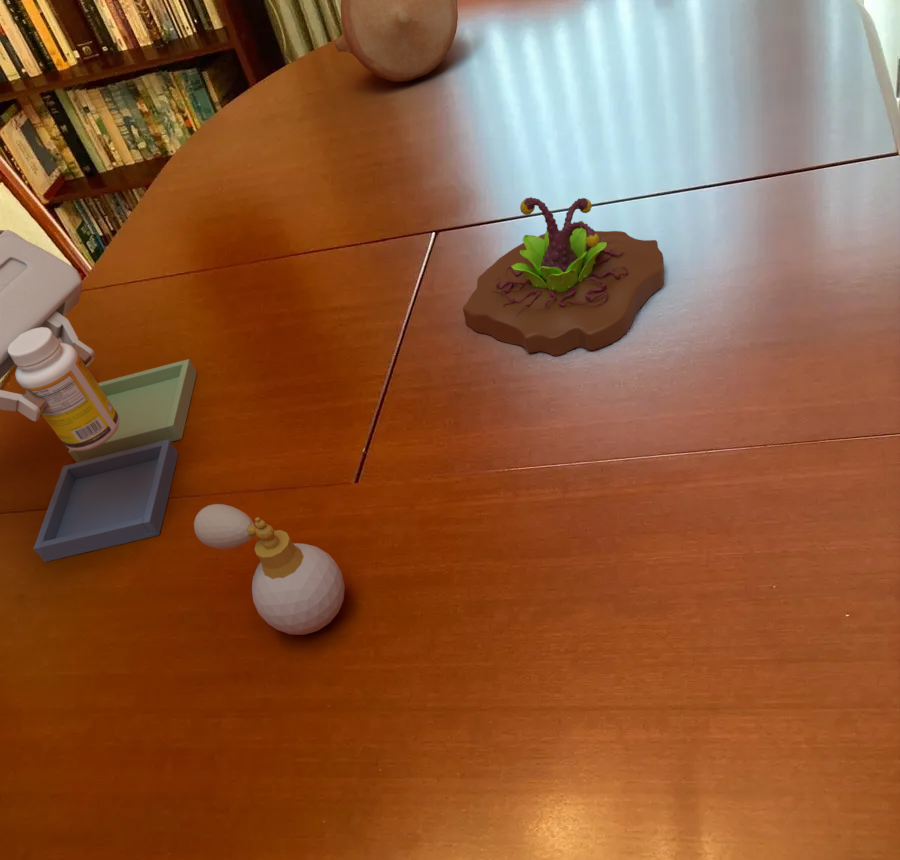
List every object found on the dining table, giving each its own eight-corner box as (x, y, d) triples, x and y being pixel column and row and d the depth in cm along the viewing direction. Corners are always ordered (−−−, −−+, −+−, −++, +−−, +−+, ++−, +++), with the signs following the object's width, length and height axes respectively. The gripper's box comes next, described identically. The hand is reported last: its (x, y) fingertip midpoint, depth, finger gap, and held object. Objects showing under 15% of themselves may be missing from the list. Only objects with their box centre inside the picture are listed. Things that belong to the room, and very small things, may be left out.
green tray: (78, 465, 99) (67, 451, 97) (101, 397, 107) (92, 384, 105) (181, 439, 97) (172, 425, 95) (197, 372, 105) (189, 358, 103)
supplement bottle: (89, 412, 84) (26, 320, 77) (133, 416, 82) (72, 321, 74) (54, 451, 81) (-16, 359, 74) (98, 456, 79) (31, 362, 71)
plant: (535, 239, 105) (517, 144, 97) (689, 256, 94) (684, 151, 86) (441, 338, 96) (412, 243, 88) (598, 368, 86) (583, 264, 78)
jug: (321, 40, 136) (301, 18, 158) (420, 117, 145) (388, 87, 168) (393, -93, 128) (361, -95, 150) (492, -1, 138) (448, -17, 160)
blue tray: (44, 562, 89) (32, 548, 87) (73, 479, 97) (62, 466, 95) (159, 535, 87) (149, 521, 85) (178, 453, 95) (169, 439, 94)
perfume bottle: (353, 642, 71) (298, 541, 63) (242, 662, 73) (173, 567, 64) (357, 574, 76) (306, 472, 67) (253, 594, 78) (190, 497, 69)
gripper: (-5, 244, 82) (126, 336, 85) (-168, 383, 71) (-10, 482, 74) (-2, 196, 77) (138, 296, 80) (-177, 338, 66) (-7, 446, 69)
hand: (66, 387), depth 77 cm, fingers closed on supplement bottle, 5 cm apart
